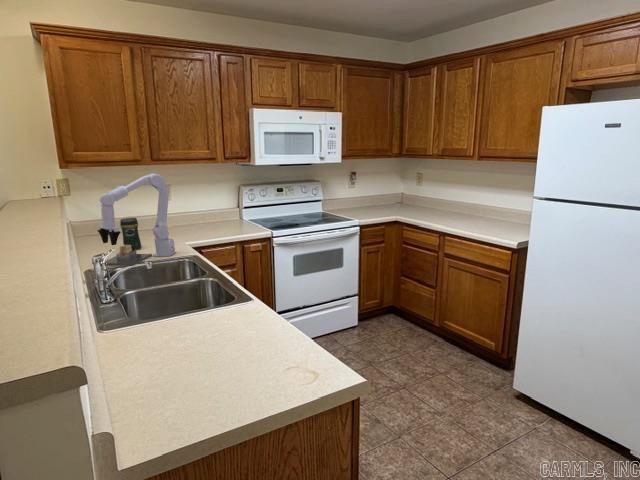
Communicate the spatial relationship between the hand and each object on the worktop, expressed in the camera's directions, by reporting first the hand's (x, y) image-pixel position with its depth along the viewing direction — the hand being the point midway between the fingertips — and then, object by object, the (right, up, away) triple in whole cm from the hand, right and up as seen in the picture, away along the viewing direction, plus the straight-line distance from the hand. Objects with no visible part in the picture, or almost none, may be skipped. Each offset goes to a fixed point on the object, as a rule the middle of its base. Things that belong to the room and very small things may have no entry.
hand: (109, 243), depth 210 cm
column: (+6, -7, +6) cm, 11 cm away
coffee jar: (-2, -4, +31) cm, 31 cm away
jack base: (+6, -9, +6) cm, 12 cm away
